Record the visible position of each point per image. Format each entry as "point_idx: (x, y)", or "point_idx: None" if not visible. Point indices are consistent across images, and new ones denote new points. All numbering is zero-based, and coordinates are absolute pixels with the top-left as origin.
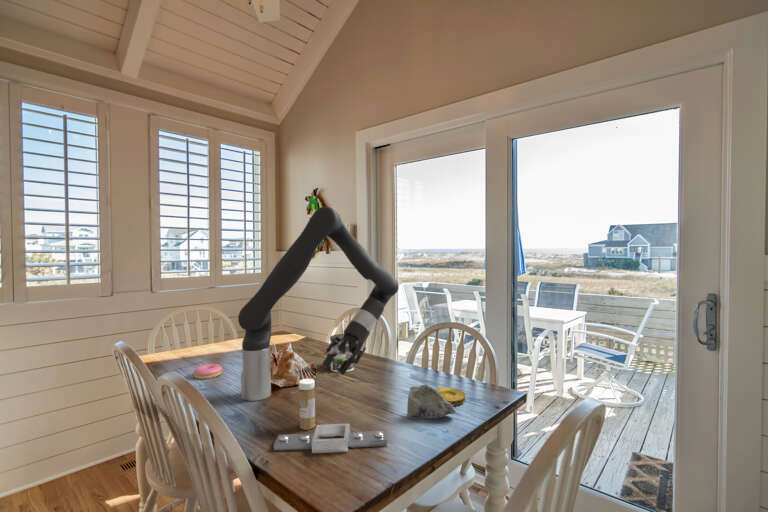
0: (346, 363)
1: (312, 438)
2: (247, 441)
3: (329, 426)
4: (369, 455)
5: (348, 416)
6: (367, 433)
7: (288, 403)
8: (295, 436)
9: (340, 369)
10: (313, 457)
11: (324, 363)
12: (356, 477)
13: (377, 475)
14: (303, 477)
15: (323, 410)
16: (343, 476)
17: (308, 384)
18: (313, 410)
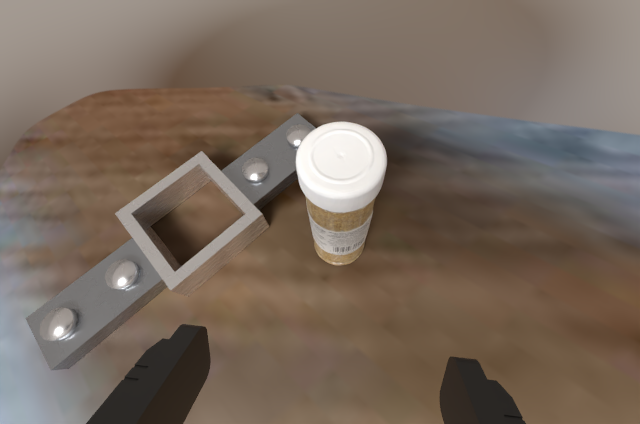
0: (99, 414)
1: (238, 183)
2: (389, 106)
3: (221, 234)
4: (74, 250)
5: (285, 400)
6: (105, 308)
7: (582, 314)
8: (286, 161)
9: (174, 337)
10: None
11: (456, 370)
12: (64, 174)
13: (21, 205)
14: (165, 114)
15: (412, 369)
16: (92, 160)
17: (300, 145)
18: (311, 228)
